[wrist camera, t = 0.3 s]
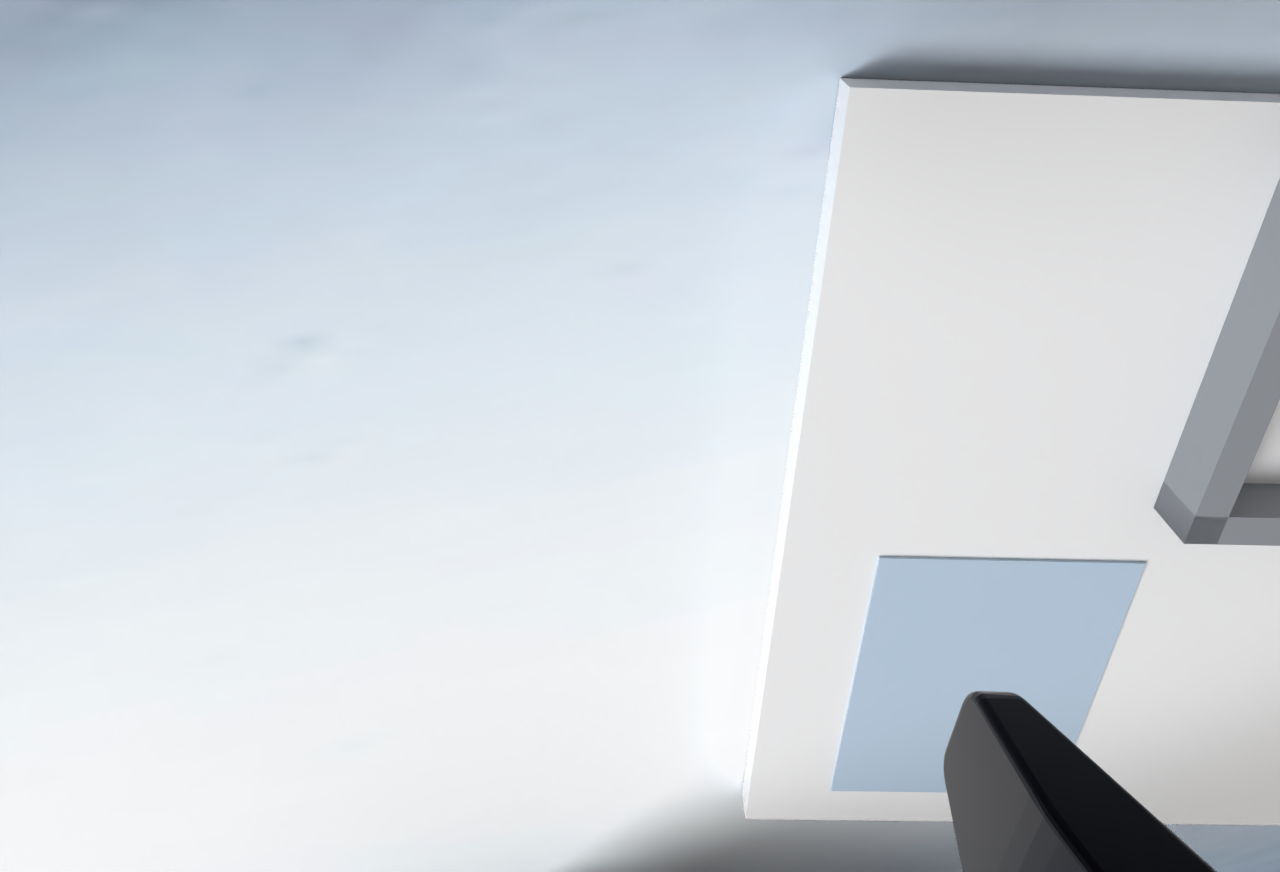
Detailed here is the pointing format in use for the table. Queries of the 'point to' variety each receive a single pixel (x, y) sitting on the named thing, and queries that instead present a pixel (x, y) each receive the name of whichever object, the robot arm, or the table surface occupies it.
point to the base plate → (1033, 450)
